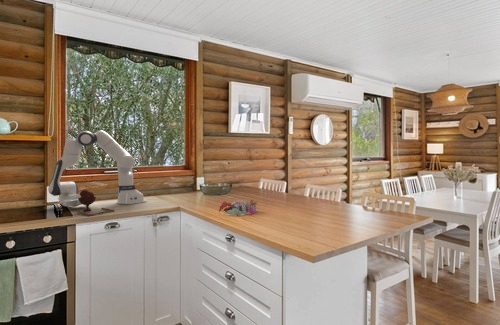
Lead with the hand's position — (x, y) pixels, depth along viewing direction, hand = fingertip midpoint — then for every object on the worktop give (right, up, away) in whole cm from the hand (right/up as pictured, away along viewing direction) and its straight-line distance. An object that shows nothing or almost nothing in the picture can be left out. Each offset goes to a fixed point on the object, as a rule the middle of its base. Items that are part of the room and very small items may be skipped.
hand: (84, 202), depth 215 cm
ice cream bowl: (+4, -6, -2) cm, 7 cm away
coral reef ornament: (+110, -6, -7) cm, 111 cm away
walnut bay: (+12, -6, -7) cm, 15 cm away
